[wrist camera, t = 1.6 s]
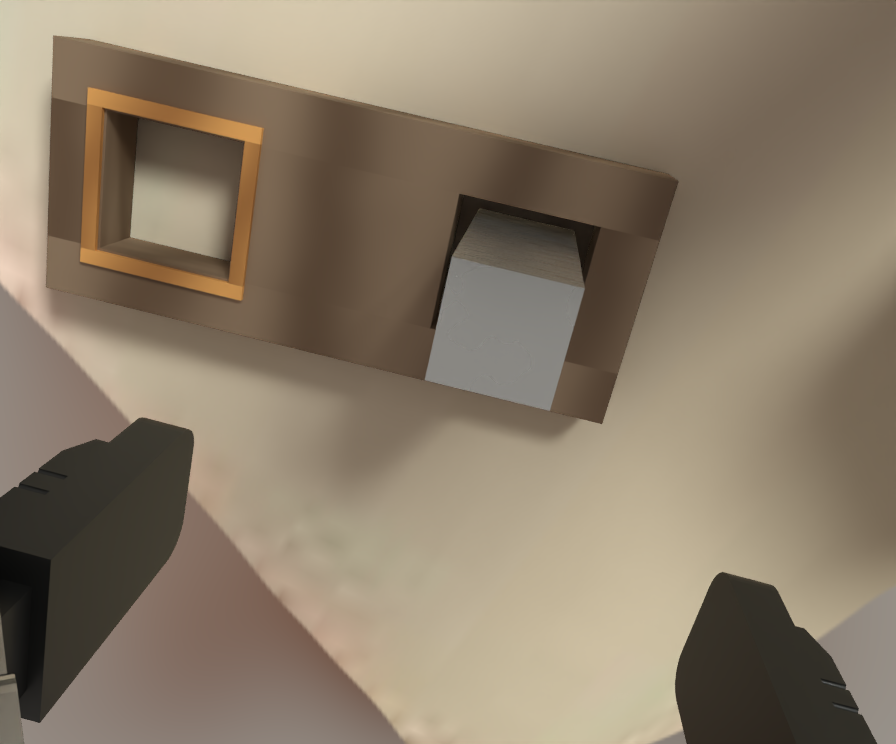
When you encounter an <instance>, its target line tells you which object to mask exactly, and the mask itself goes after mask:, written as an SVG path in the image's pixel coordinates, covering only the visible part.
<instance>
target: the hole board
mask: <svg viewBox="0 0 896 744" xmlns="http://www.w3.org/2000/svg"><path fill="white" fill-rule="evenodd" d="M138 118H142V119H146V120H150V121H154V122H158V123H163V124H167V125H171V126H175V127H180V128H184V129H188V130H192V131H197V132H201V133H205V134H209V135H213V136H218V137H222V138H226V139H230V140H235V141H239V142H243V143H244V147H243V156H242V164H241V173H240V182H239V190H238V199H237V208H236V216H235V225H234V234H233V242H232V251H231V260H230V261H226V260H221V259H217V258H213V257H209V256H205V255H201V254H197V253H193V252H188V251H184V250H180V249H176V248H172V247H168V246H164V245H160V244H155V243H151V242H147V241H143V240H139V239H135V238H131V237H130V229H131V214H132V199H133V185H134V170H135V155H136V140H137V125H138ZM677 184H678V180H676V179H675V178H673V177H672V176H671V175H669V174H666V173H662V172H657V171H653V170H649V169H644V168H640V167H636V166H632V165H627V164H623V163H619V162H614V161H610V160H606V159H601V158H597V157H593V156H589V155H584V154H580V153H576V152H571V151H567V150H563V149H559V148H554V147H550V146H546V145H541V144H537V143H533V142H528V141H524V140H520V139H516V138H511V137H507V136H503V135H498V134H494V133H490V132H486V131H481V130H477V129H473V128H468V127H464V126H460V125H455V124H451V123H447V122H443V121H438V120H434V119H430V118H425V117H421V116H417V115H413V114H408V113H404V112H400V111H395V110H391V109H387V108H382V107H378V106H374V105H370V104H365V103H361V102H357V101H352V100H348V99H344V98H340V97H335V96H331V95H327V94H322V93H318V92H314V91H309V90H305V89H301V88H297V87H292V86H288V85H284V84H279V83H275V82H271V81H267V80H262V79H258V78H254V77H249V76H245V75H241V74H236V73H232V72H228V71H224V70H219V69H215V68H211V67H206V66H202V65H198V64H194V63H189V62H185V61H181V60H176V59H172V58H168V57H163V56H159V55H155V54H151V53H146V52H142V51H138V50H133V49H129V48H125V47H121V46H116V45H112V44H108V43H103V42H99V41H95V40H90V39H82V38H73V37H63V36H54V35H53V67H52V102H51V136H50V171H49V205H48V240H47V274H46V287H47V288H51V289H55V290H59V291H63V292H67V293H71V294H75V295H80V296H84V297H88V298H92V299H96V300H100V301H104V302H108V303H112V304H116V305H120V306H124V307H128V308H132V309H136V310H141V311H145V312H149V313H153V314H157V315H161V316H165V317H169V318H173V319H177V320H181V321H185V322H189V323H193V324H197V325H202V326H206V327H210V328H214V329H218V330H222V331H226V332H230V333H234V334H238V335H242V336H246V337H250V338H254V339H258V340H263V341H267V342H271V343H275V344H279V345H283V346H287V347H291V348H295V349H299V350H303V351H307V352H311V353H315V354H320V355H324V356H328V357H332V358H336V359H340V360H344V361H348V362H352V363H356V364H360V365H364V366H368V367H372V368H376V369H381V370H385V371H389V372H393V373H397V374H401V375H405V376H409V377H413V378H417V379H421V380H425V376H426V372H427V367H428V363H429V358H430V354H431V349H432V345H433V340H434V335H435V331H436V326H437V322H438V317H439V313H440V312H438V311H439V306H440V301H441V297H442V292H443V288H444V283H445V279H446V274H447V269H448V265H449V260H450V256H451V251H452V246H453V242H454V237H455V233H456V228H457V224H458V219H459V214H460V210H461V205H462V201H463V196H464V195H467V196H472V197H476V198H480V199H484V200H489V201H493V202H497V203H501V204H506V205H510V206H514V207H518V208H523V209H527V210H531V211H535V212H539V213H544V214H548V215H552V216H556V217H561V218H565V219H569V220H573V221H578V222H582V223H586V224H590V225H594V226H595V227H594V230H593V234H592V237H591V241H590V244H589V248H588V251H587V255H586V258H585V262H584V265H583V269H582V276H583V281H584V286H585V290H584V293H583V297H582V300H581V304H580V307H579V311H578V314H577V318H576V321H575V325H574V328H573V332H572V335H571V339H570V342H569V346H568V349H567V353H566V356H565V360H564V363H563V367H562V370H561V374H560V377H559V381H558V384H557V388H556V391H555V395H554V398H553V402H552V405H551V409H550V411H551V412H555V413H559V414H564V415H568V416H572V417H576V418H580V419H584V420H588V421H592V422H596V423H600V424H602V423H603V419H604V416H605V413H606V410H607V407H608V403H609V400H610V397H611V394H612V391H613V388H614V384H615V381H616V378H617V375H618V372H619V369H620V365H621V362H622V359H623V356H624V353H625V349H626V346H627V343H628V340H629V337H630V334H631V330H632V327H633V324H634V321H635V318H636V315H637V311H638V308H639V305H640V302H641V299H642V295H643V292H644V289H645V286H646V283H647V280H648V276H649V273H650V270H651V267H652V264H653V261H654V257H655V254H656V251H657V248H658V245H659V241H660V238H661V235H662V232H663V229H664V226H665V222H666V219H667V216H668V213H669V210H670V207H671V203H672V200H673V197H674V194H675V191H676V187H677ZM425 381H426V380H425ZM429 382H430V381H429ZM433 383H434V382H433ZM437 384H438V383H437ZM470 392H471V391H470ZM474 393H475V392H474ZM478 394H479V393H478ZM482 395H483V394H482ZM486 396H487V395H486ZM490 397H491V396H490ZM494 398H495V397H494ZM498 399H499V398H498ZM531 407H532V406H531ZM535 408H536V407H535ZM539 409H540V408H539ZM543 410H544V409H543ZM547 411H548V410H547Z"/></svg>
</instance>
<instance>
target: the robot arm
mask: <svg viewBox="0 0 896 744" xmlns="http://www.w3.org/2000/svg"><path fill="white" fill-rule="evenodd" d="M193 446H194V436H193V433H192V431H191V430H189V429H185V428H181V427H178V426H174V425H170V424H166V423H163V422H159V421H155V420H151V419H147V418H139V419H137V420H136V421H135V422H134V423H132V424H131V425H130V426H129V427H127V428H126V429H125V430H124V431H123V432H121V433H120V434H119V435H118V436H116V437H115V438H114V439H113V440H112V441H110V442H109V443H108V442H105V441H101V440H97V439H96V440H92V441H90V442H87V443H84V444H81V445H78V446H75V447H72V448H69V449H66V450H63V451H61V452H60V453H59V454H57V455H56V456H55V457H53V458H52V459H51V460H49V461H48V462H47V463H46V464H44V465H43V466H42V467H40V468H39V471H38V472H34V473H32V474H31V475H30V476H28V477H27V478H26V479H24V480H23V481H22V482H20V484H19V487H18V488H17V487H14V488H12V489H11V490H10V491H9V492H7V493H6V494H5V495H3V496H2V497H1V498H0V744H24V739H23V731H22V723H21V718H24V719H27V720H31V721H35V722H38V723H40V722H41V721H42V719H43V718H44V717H45V716H46V714H47V713H48V712H49V711H50V709H51V708H52V707H53V705H54V704H55V703H56V702H57V700H58V699H59V698H60V697H61V695H62V694H63V693H64V691H65V690H66V689H67V688H68V686H69V685H70V684H71V683H72V681H73V680H74V679H75V678H76V676H77V675H78V673H79V672H80V671H81V670H82V669H83V667H84V666H85V665H86V664H87V662H88V661H89V660H90V658H91V657H92V656H93V654H94V653H95V652H96V651H97V649H98V648H99V647H100V646H101V644H102V643H103V642H104V641H105V639H106V638H107V637H108V635H109V634H110V633H111V631H112V630H113V629H114V628H115V627H116V625H117V624H118V623H119V622H120V620H121V619H122V618H123V616H124V615H125V614H126V613H127V611H128V610H129V609H130V608H131V606H132V605H133V604H134V602H135V601H136V600H137V599H138V597H139V596H140V595H141V593H142V592H143V591H144V590H145V589H146V587H147V586H148V584H149V583H150V582H151V581H152V580H153V578H154V577H155V576H156V574H157V573H158V572H159V570H160V569H161V568H162V567H163V565H164V564H165V563H166V562H167V560H168V559H169V557H170V556H171V554H172V552H173V550H174V548H175V546H176V543H177V541H178V538H179V535H180V532H181V529H182V524H183V519H184V513H185V505H186V498H187V491H188V483H189V476H190V469H191V462H192V454H193ZM675 693H676V700H677V705H678V709H679V713H680V717H681V722H682V726H683V730H684V734H685V739H686V743H687V744H877V742H876V740H875V739H874V737H873V735H872V733H871V731H870V729H869V727H868V725H867V723H866V722H865V720H864V718H863V716H862V715H860V714H858V709H859V708H858V706H857V705H856V703H855V701H854V699H853V697H852V695H851V693H850V691H848V690H846V684H845V682H844V680H843V678H842V676H841V674H840V672H839V671H838V669H837V667H836V665H835V663H834V661H833V659H832V657H831V656H830V655H829V654H828V653H827V652H826V651H825V650H824V649H823V648H822V647H821V646H820V644H819V643H818V642H817V641H816V640H815V639H814V638H813V637H812V636H811V635H810V634H809V633H808V632H807V631H806V630H805V629H804V628H800V627H796V626H795V625H794V623H793V621H792V619H791V617H790V615H789V613H788V611H787V609H786V607H785V605H784V603H783V601H782V599H781V597H780V595H779V593H778V591H777V589H776V588H775V587H774V586H772V585H770V584H766V583H762V582H758V581H755V580H751V579H747V578H743V577H739V576H736V575H732V574H728V573H724V572H721V573H719V574H718V575H717V576H716V577H715V578H714V579H713V581H712V583H711V585H710V587H709V589H708V592H707V594H706V596H705V599H704V601H703V603H702V606H701V608H700V610H699V613H698V615H697V617H696V620H695V622H694V624H693V627H692V629H691V632H690V634H689V636H688V639H687V641H686V643H685V646H684V648H683V650H682V653H681V655H680V658H679V662H678V666H677V672H676V680H675Z"/></svg>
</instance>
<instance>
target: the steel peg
mask: <svg viewBox="0 0 896 744" xmlns="http://www.w3.org/2000/svg"><path fill="white" fill-rule="evenodd" d="M584 290H585V286H584V281H583V276H582V270H581V265H580V259H579V254H578V248H577V243H576V237H575V232H574V230H570V229H566V228H562V227H557V226H553V225H549V224H545V223H541V222H536V221H532V220H528V219H524V218H519V217H515V216H511V215H507V214H503V213H498V212H494V211H490V210H486V209H481V208H479V210H478V212H477V213H476V215H475V217H474V219H473V220H472V222H471V224H470V226H469V227H468V229H467V231H466V233H465V234H464V236H463V238H462V240H461V241H460V243H459V245H458V247H457V248H456V250H455V252H454V254H453V255H452V258H451V262H450V267H449V272H448V276H447V281H446V285H445V290H444V294H443V299H442V304H441V308H440V313H439V317H438V322H437V326H436V331H435V335H434V340H433V345H432V349H431V354H430V358H429V363H428V367H427V372H426V376H425V380H426V381H430V382H434V383H438V384H442V385H446V386H450V387H454V388H458V389H462V390H466V391H471V392H475V393H479V394H483V395H487V396H491V397H495V398H499V399H503V400H507V401H511V402H515V403H519V404H523V405H527V406H532V407H536V408H540V409H544V410H548V411H550V409H551V405H552V402H553V398H554V395H555V391H556V388H557V384H558V381H559V377H560V374H561V370H562V367H563V363H564V360H565V356H566V353H567V349H568V346H569V342H570V339H571V335H572V332H573V328H574V325H575V321H576V318H577V314H578V311H579V307H580V304H581V300H582V297H583V293H584Z"/></svg>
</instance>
